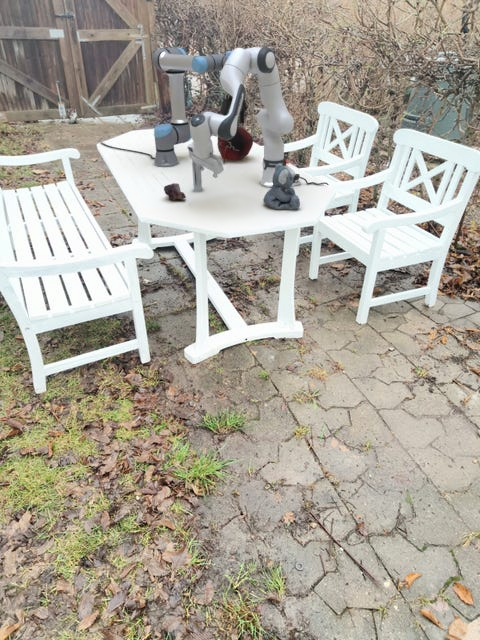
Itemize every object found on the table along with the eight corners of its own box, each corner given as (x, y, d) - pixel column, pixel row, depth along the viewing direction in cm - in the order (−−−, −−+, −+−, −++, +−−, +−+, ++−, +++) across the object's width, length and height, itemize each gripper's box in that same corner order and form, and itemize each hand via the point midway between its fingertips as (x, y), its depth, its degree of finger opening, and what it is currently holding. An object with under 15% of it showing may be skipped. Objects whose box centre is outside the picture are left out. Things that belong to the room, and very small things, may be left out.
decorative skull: (214, 132, 306) (214, 129, 283) (248, 124, 306) (250, 120, 282) (221, 164, 313) (221, 164, 290) (254, 156, 312) (257, 156, 289)
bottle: (203, 190, 249) (201, 153, 238) (196, 192, 247) (194, 154, 236) (199, 188, 253) (197, 151, 241) (192, 190, 250) (189, 152, 239)
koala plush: (301, 210, 223) (303, 170, 212) (265, 211, 222) (266, 171, 211) (294, 198, 237) (297, 160, 226) (261, 199, 236) (261, 161, 225)
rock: (179, 196, 245) (162, 199, 241) (177, 180, 241) (160, 182, 237) (187, 199, 235) (169, 202, 231) (185, 182, 232) (167, 185, 228)
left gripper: (222, 86, 238) (223, 129, 250) (253, 82, 253) (253, 122, 265) (212, 85, 242) (214, 127, 254) (243, 80, 257) (243, 120, 269)
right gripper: (224, 153, 209) (228, 177, 220) (193, 138, 218) (199, 162, 229) (214, 161, 207) (219, 184, 218) (184, 145, 216) (190, 169, 227)
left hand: (234, 125), depth 259 cm, fingers open, 13 cm apart
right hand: (208, 173), depth 224 cm, fingers open, 8 cm apart
